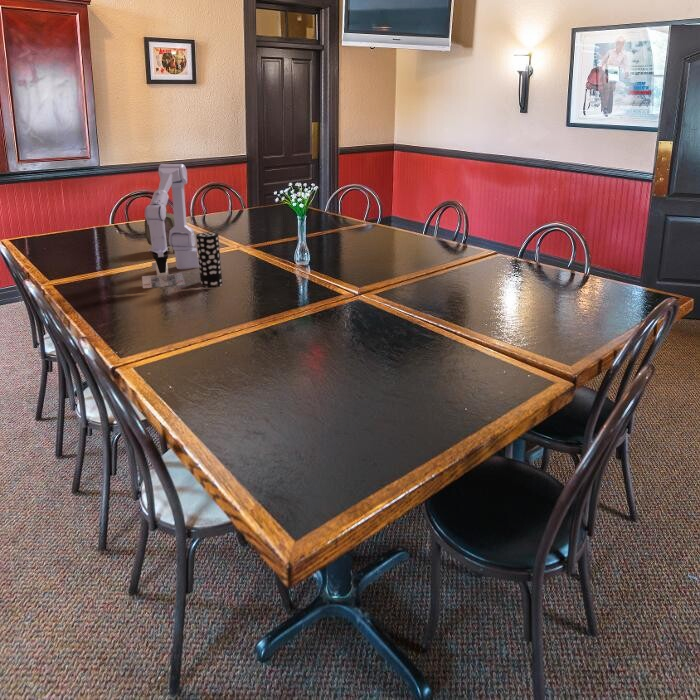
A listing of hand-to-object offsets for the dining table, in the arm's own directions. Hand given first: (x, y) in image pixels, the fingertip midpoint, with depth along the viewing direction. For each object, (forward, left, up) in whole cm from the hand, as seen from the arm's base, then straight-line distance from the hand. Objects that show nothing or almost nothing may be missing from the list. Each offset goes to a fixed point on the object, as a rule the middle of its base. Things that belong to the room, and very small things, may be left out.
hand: (162, 271), depth 257 cm
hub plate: (0, -4, -6) cm, 7 cm away
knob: (0, 0, -1) cm, 1 cm away
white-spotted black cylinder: (-18, +5, -6) cm, 20 cm away
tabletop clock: (-4, -59, -6) cm, 59 cm away
